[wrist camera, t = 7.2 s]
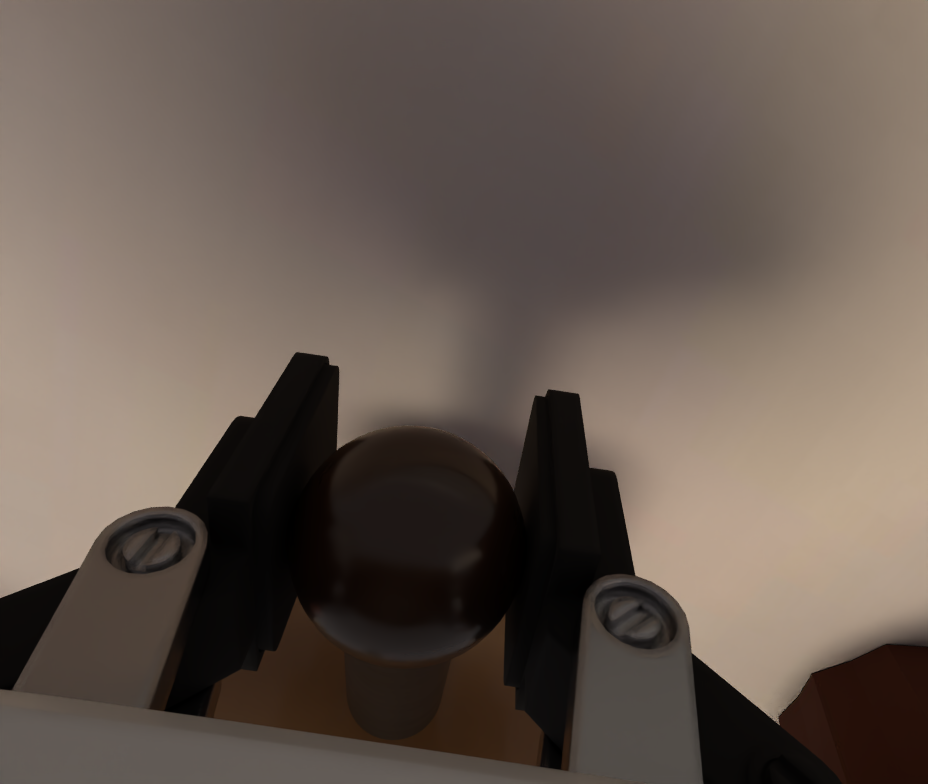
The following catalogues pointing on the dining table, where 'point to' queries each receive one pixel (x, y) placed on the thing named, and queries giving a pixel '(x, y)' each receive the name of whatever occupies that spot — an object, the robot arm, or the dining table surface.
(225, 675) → the robot arm
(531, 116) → the dining table surface
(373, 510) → the paper towel holder
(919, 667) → the muffin
